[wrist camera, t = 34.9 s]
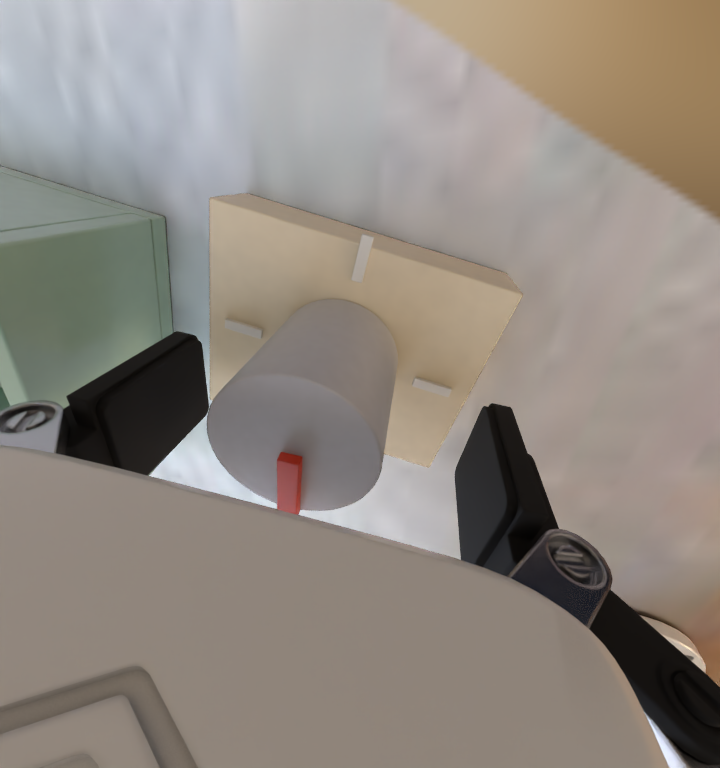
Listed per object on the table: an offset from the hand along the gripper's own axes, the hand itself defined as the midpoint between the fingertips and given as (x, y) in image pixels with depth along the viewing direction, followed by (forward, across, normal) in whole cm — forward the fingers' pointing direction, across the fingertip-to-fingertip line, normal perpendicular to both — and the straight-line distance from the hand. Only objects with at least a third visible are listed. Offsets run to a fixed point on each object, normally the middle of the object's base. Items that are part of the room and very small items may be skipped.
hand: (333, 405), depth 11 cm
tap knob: (+2, 0, -1) cm, 2 cm away
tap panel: (+4, 0, -1) cm, 5 cm away
